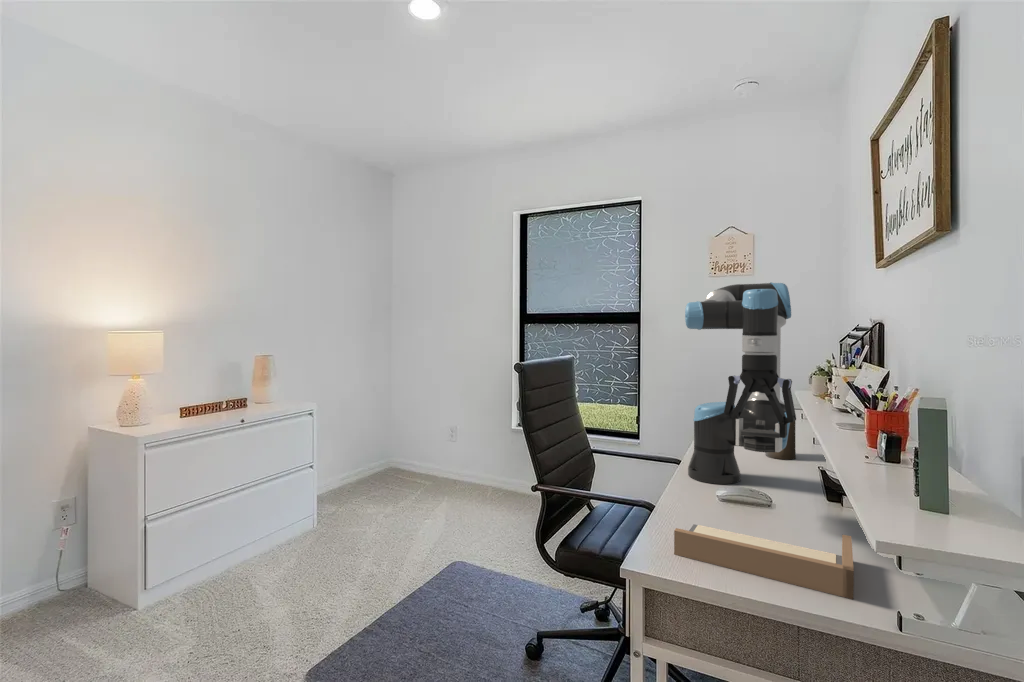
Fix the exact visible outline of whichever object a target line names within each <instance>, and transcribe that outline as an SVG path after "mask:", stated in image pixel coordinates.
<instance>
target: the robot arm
mask: <svg viewBox="0 0 1024 682" xmlns="http://www.w3.org/2000/svg"><path fill="white" fill-rule="evenodd" d="M791 305H792V304H791V298H790V292H789V287H788V286H787V284H786V283H784V282H768V283H767V282H765V283H743V284H742V283H739V284H731V285H725V286H724V287H723V286H722V287H719V288H717V289H715V290H713V291H711V292H710V293H708V295H707V296H706V298H705V300H703V301H699V300H696V301H689V302H688V303H686V306H685V310H684V321H685V326H686V327H687V329H689V330H698V331H700V330H742V336H741V338H742V339H741V344H742V345H741V351H742V352H743V354H742V356H741V373H740V374H739V375H729V376H728V378H727V379H728V390H727V395H726V401H715V402H714V401H713V402H706V403H700V404H698V405H697V406H696V407H694V408H695V409H694V413H693V415H694V418H693V434H694V435H693V446H694V447H693V453H692V455H691V458H690V461H689V464H688V466H687V467H688V468H687V475H688V477H690V478H692V479H693V480H696V481H699V482H703V483H708V484H714V485H731V484H736V483H739V482H740V481H741V470H740V468H739V465H738V462H737V458H736V455H735V447H741V448H742V447H743V448H744V446H743V435H741V434H740V431H741V430H744V429H748V428H756V420H763V421H765V429H772V430H773V431H775V432H777V433H779V434H780V438H775V452H780V451H782V450H783V449H784V448H785V447H786V445H787V439H788V433H789V426H790V423H791V422H794V421H795V422H796V421H797V414H796V409H795V404H794V400H793V399H794V398H793V395H792V385H793V381H792V379H791V378H787V379H786V378H782V377H781V341H782V340H781V335H782V333H781V331H782V329H781V328H782V327H784V326H785V325H786V324H787V320H788V319H791V317H792V306H791ZM740 382H742V384H743V385H744V388H743V390H742V392H741V396H740V398H739V399H738V401H737V404H736V405H735V403H736V402H735V401H736V396H737V392H738V388H739V386H738V385H739V384H740ZM781 392H782V400H783V401H782V400H781Z"/></svg>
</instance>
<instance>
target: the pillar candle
mask: <svg viewBox="0 0 1024 682" xmlns="http://www.w3.org/2000/svg"><path fill="white" fill-rule="evenodd" d="M796 454H797V453H796V421H794V422H791V423H790V426H789V433H788V439H787V445H786V447H785V448H784V449H783V450H782V451H780V452H764V455H765V457H768V458H771V459H777V460H786V461H787V460H788V461H790V460H795V459H796Z"/></svg>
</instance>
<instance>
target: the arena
mask: <svg viewBox="0 0 1024 682" xmlns="http://www.w3.org/2000/svg"><path fill="white" fill-rule="evenodd" d="M673 535H674V536H673V541H674V543H673V545H674V546H673V547H674V548H673V554H674V555H676V556H680V557H683V558H688V559H691V560H696V561H700V562H703V563H707V564H710V565H711V564H712V565H715V566H719V567H723V568H727V569H731V570H736V571H740V572H743V573H747V574H751V575H755V576H759V577H762V578H766V579H770V580H775V581H778V582H783V583H785V584H790V585H795V586H798V587H803V588H806V589H810V590H814V591H818V592H822V593H826V594H830V595H833V596H838V597H843V598H846V599H849V600H854V582H855V581H854V577H855V576H854V575H855V573H854V572H855V570H854V558H853V542H852V536H851V535H846V534H842V535H841V538H842V539H841V542H842V543H841V549H842V550H841V555H839V554H837V553H833V552H832V553H831V552H826V551H822V550H817V549H813V548H808V547H805V546H799V545H795V544H790V543H787V542H786V543H785V542H780V541H778V540H777V541H775V540H771V539H766V538H762V537H757V536H752V535H748V534H744V533H740V532H739V533H737V532H734V531H729V530H724V529H719V528H715V527H710V526H705V525H701V524H692V526H691V527H690V529H689V530H686V529H684V528H683V529H682V528H678V527H676V528H675V529H674V532H673Z"/></svg>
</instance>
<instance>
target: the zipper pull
mask: <svg viewBox="0 0 1024 682" xmlns="http://www.w3.org/2000/svg"><path fill="white" fill-rule="evenodd" d="M740 434H741V435H743V446H744V447H743V448H744V449H745V450H747V451H751V452H756V453H757V452H758V453H765V452H775V438H780V434H779V433H777V432H775V431H773V430H772V429H765V421H763V420H756V428H748V429H744V430H741V431H740Z"/></svg>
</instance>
